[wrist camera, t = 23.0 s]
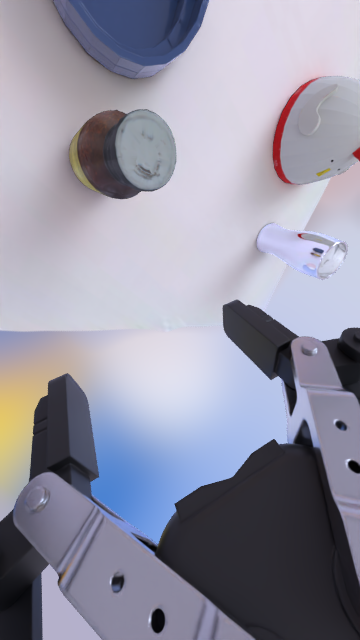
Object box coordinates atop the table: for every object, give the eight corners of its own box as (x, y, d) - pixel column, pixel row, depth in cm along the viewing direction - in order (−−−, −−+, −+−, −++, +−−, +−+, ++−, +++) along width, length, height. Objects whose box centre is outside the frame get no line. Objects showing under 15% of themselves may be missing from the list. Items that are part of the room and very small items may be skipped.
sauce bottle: (97, 201, 30) (139, 237, 16) (56, 155, 26) (60, 148, 11) (131, 166, 30) (206, 171, 15) (94, 113, 25) (149, 51, 11)
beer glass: (285, 226, 48) (355, 246, 37) (269, 257, 50) (329, 284, 39) (265, 215, 44) (337, 234, 33) (249, 249, 47) (309, 276, 36)
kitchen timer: (259, 159, 37) (346, 159, 26) (310, 53, 32) (445, -3, 21) (300, 196, 45) (380, 208, 34) (346, 116, 40) (458, 99, 29)
